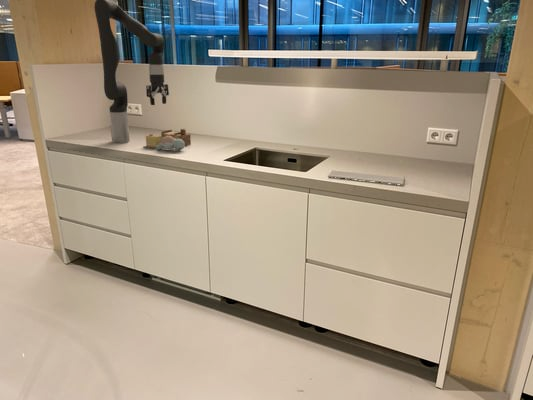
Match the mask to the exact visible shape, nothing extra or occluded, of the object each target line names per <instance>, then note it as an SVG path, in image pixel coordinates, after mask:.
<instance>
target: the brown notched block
mask: <svg viewBox="0 0 533 400" xmlns="http://www.w3.org/2000/svg"><path fill="white" fill-rule="evenodd" d="M160 136H162V137H165V136H172V137H173V138H175V139H182V140H183V141H184V143H185V147H186V146H190V145H191V144H192V141H191V139H192V138H191V133H187V132H186V128H180V131H179V132H178V131H173V130H172V129H167V130H163V131H161V135H160Z"/></svg>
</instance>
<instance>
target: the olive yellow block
mask: <svg viewBox="0 0 533 400" xmlns="http://www.w3.org/2000/svg"><path fill="white" fill-rule="evenodd" d="M162 138H163V137H162V136H161V135H158V134H154V133H149V134H147V135H146V134H145V146H147V147H153V148H156V146H157V145H159V144H160V142H161V139H162Z"/></svg>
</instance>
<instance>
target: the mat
mask: <svg viewBox="0 0 533 400" xmlns="http://www.w3.org/2000/svg"><path fill="white" fill-rule="evenodd" d="M143 148H144V149H152V150H156V151H158V150H157V149H156V148H153V147H147V146H146V145H144V146H143Z"/></svg>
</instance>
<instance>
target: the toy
mask: <svg viewBox="0 0 533 400" xmlns="http://www.w3.org/2000/svg"><path fill="white" fill-rule="evenodd" d="M185 147H186V146H185V143H184V141H183V140H182V139H175V138H173V137H172V136H165V137H163V138H162V139H161V142H160V144H159V145H157V146H156V149H157V150H156V149H155V150H156V151H161V150H173V149H174V150H175V151H176V152H180V151H182V150H183V149H185Z"/></svg>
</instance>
